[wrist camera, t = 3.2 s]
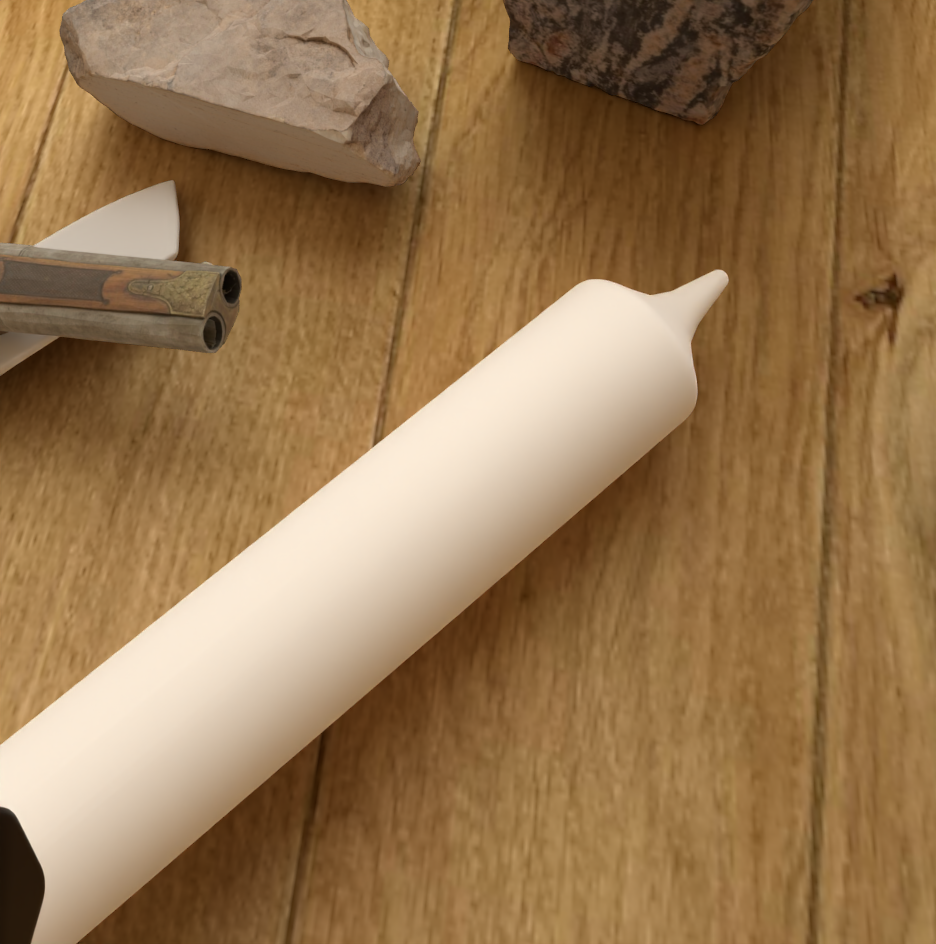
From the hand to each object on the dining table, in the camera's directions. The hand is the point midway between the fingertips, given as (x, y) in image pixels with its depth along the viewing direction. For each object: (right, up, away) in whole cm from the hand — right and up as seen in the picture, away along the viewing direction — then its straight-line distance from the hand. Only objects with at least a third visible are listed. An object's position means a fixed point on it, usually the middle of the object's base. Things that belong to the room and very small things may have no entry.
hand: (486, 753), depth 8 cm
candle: (-13, -8, +10) cm, 18 cm away
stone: (-6, +16, +15) cm, 23 cm away
